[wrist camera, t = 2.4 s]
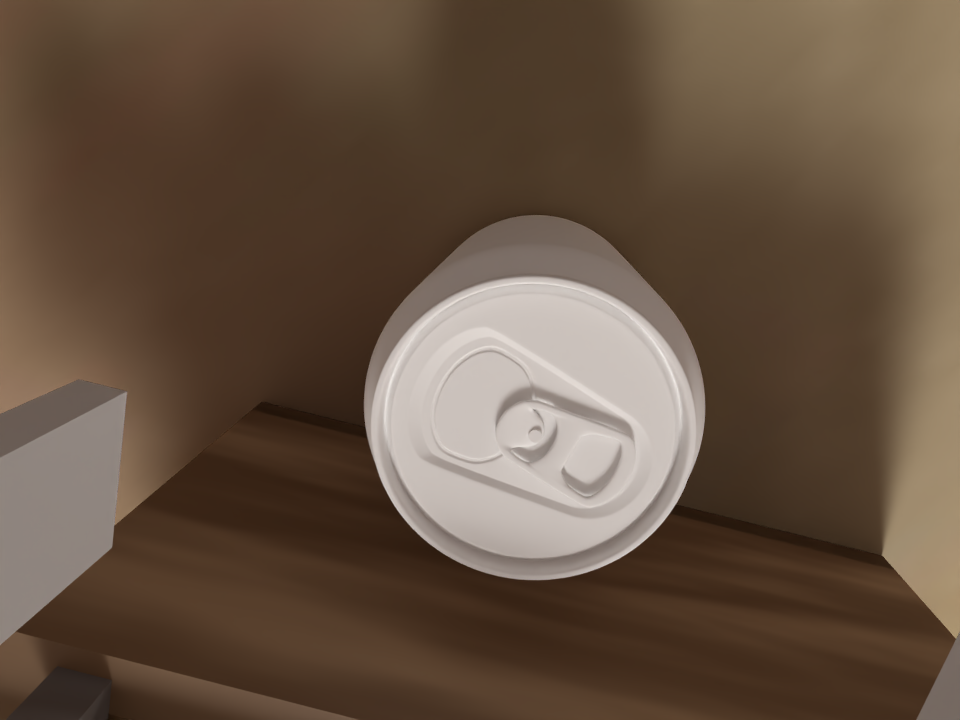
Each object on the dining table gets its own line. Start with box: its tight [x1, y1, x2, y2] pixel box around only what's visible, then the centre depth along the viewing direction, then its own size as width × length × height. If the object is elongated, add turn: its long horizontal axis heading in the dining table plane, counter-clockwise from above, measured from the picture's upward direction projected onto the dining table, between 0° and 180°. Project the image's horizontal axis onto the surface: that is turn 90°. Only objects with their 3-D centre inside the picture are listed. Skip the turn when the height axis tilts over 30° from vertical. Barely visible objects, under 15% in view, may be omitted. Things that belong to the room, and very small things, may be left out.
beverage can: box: [364, 215, 705, 580], centre depth 21 cm, size 8×8×12 cm
